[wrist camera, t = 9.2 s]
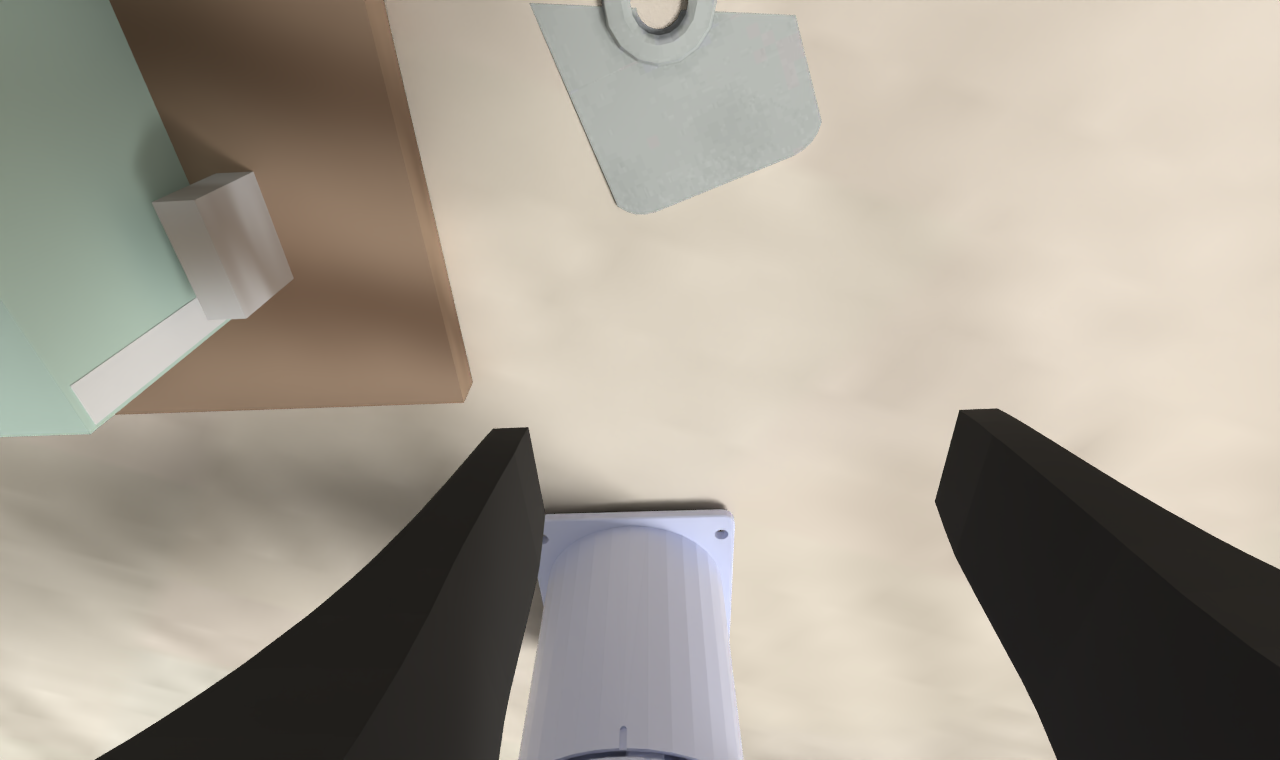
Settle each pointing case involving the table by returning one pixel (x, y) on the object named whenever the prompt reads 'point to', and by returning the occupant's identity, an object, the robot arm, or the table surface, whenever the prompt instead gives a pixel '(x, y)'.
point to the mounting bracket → (682, 95)
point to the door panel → (83, 224)
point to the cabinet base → (296, 208)
